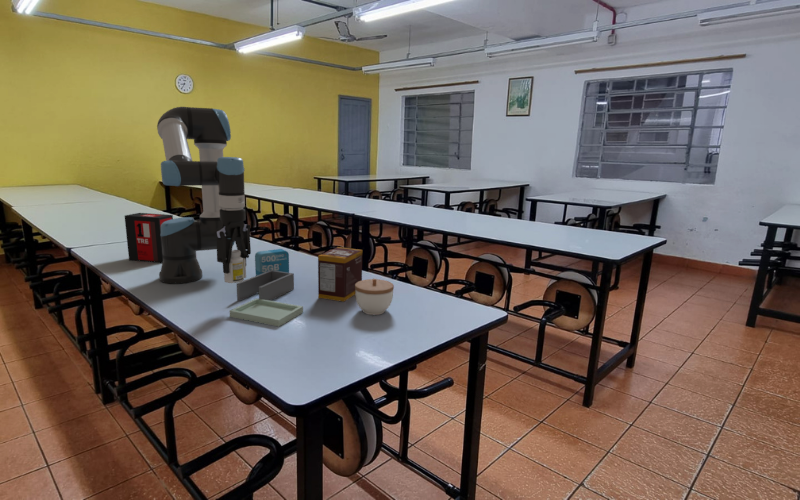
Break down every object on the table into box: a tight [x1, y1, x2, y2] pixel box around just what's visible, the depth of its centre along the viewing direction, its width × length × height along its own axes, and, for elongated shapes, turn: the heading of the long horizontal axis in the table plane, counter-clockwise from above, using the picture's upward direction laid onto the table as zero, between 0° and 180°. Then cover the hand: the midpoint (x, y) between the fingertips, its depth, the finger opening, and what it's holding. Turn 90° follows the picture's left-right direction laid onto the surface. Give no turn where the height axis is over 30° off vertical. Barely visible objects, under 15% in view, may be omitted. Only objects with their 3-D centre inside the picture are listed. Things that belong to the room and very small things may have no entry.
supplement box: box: [317, 246, 363, 303], centre depth 162 cm, size 10×15×16 cm
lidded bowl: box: [354, 278, 395, 316], centre depth 147 cm, size 13×13×11 cm
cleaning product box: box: [124, 212, 174, 264], centre depth 199 cm, size 16×9×20 cm, turn 80°
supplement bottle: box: [230, 249, 245, 284], centre depth 143 cm, size 5×5×10 cm
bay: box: [236, 270, 295, 301], centre depth 159 cm, size 10×19×6 cm, turn 160°
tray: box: [229, 297, 304, 327], centre depth 141 cm, size 18×13×2 cm
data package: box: [254, 248, 290, 276], centre depth 175 cm, size 12×4×12 cm, turn 129°
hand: (235, 279), depth 144 cm, fingers closed on supplement bottle, 5 cm apart
